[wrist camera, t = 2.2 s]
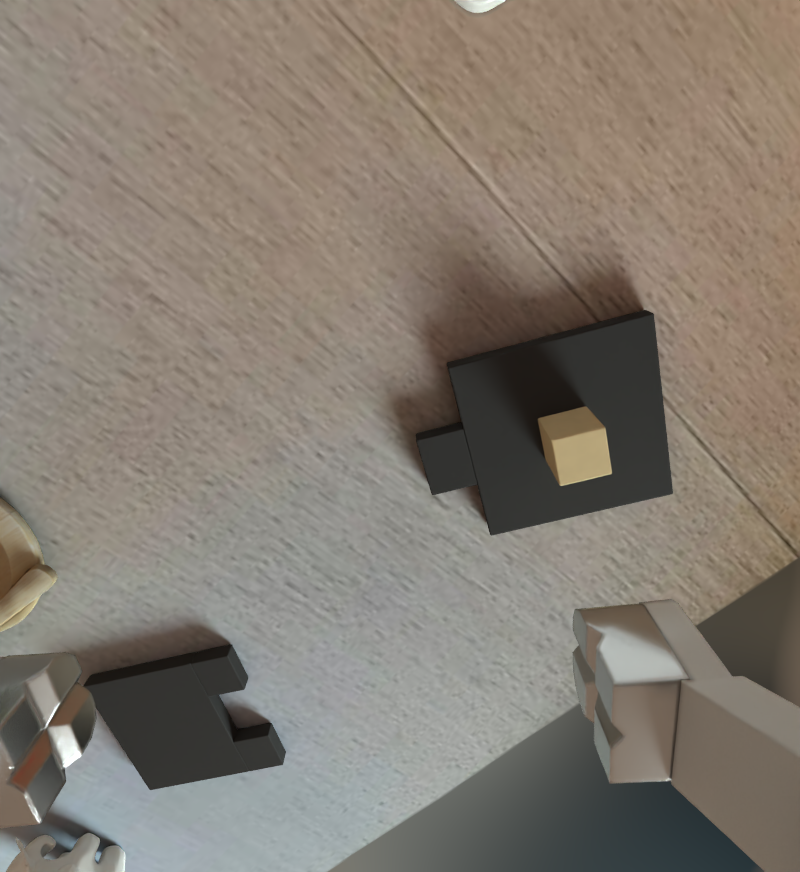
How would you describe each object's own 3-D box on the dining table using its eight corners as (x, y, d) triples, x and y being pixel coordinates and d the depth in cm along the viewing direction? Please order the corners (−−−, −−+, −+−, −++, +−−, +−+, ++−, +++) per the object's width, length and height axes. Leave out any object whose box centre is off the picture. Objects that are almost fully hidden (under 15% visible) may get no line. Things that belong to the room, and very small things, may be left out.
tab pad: (645, 309, 33) (682, 324, 28) (665, 485, 37) (700, 522, 33) (399, 375, 34) (397, 399, 30) (445, 536, 39) (450, 578, 34)
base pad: (231, 643, 42) (227, 655, 41) (286, 751, 47) (283, 765, 46) (90, 674, 44) (82, 687, 43) (155, 776, 48) (149, 790, 47)
